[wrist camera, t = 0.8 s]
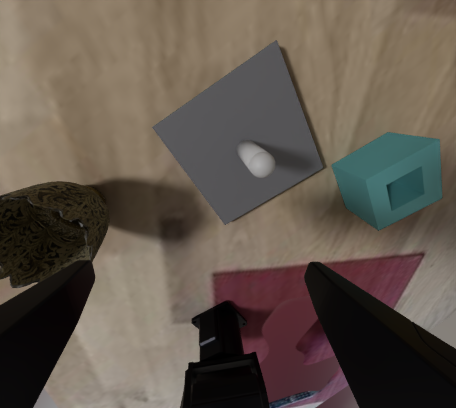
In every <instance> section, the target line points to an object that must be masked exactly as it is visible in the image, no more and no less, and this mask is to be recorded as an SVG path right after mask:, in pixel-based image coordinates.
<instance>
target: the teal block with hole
mask: <svg viewBox="0 0 456 408" xmlns="http://www.w3.org/2000/svg"><path fill="white" fill-rule="evenodd" d="M332 168H333V171H334V174H335V177H336V180H337V183H338V186H339V189H340V192H341V195H342V198H343V200H344V203H345V206H346V208H347V209H348V210H350V211H351V212H353V213H354V214H355V215H357V216H358V217H360V218H361V219H363V220H364V221H365V222H367V223H368V224H370V225H371V226H373V227H374V228H375V229H377V230H378V231H379V230H381V229H383V228H385V227H387V226H389V225H391V224H393V223H395V222H397V221H399V220H401V219H403V218H405V217H407V216H409V215H410V214H412V213H414V212H416V211H418V210H420V209H422V208H424V207H426V206H428V205H430V204H432V203H434V202H436V201H438V200H440V199H442V180H441V159H440V139H434V138H426V137H419V136H412V135H404V134H397V133H390V132H388V133H386V134H384V135H382V136H381V137H379V138H377V139H375V140H374V141H372V142H370V143H369V144H367V145H365V146H363V147H362V148H360V149H358V150H356V151H355V152H353V153H351V154H350V155H348V156H346V157H344V158H343V159H341V160H339V161H337V162H336V163H334V164H332Z"/></svg>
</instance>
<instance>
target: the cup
mask: <svg viewBox="0 0 456 408" xmlns="http://www.w3.org/2000/svg"><path fill="white" fill-rule="evenodd" d="M108 226H109V212H108V209H107V207H106V201H105V198H104V196H103V195H102V194H101V193H100V192H99V191H98V190H97V189H95V188H93V187H90V186H85V185H79V184H76V183H71V182H61V181H57V182H48V183H43V184H38V185H34V186H30V187H27V188H23V189H20V190H17V191H14V192H10V193H7V194H4V195H1V196H0V266H1V268H0V279H4V278H6V277H8V276H10V283H11V284H10V285H11V287H12V288H20V287H24V286H27V285H30V284H32V283H35V282H38V283H39V282H41V281H43V280H44V279H46V278H48V277H49V276H51V275H53V274H55V273H56V272H58V271H60V270H62V269H63V268H65V267H67V266H68V265H70V264H72V263H74V262H75V261H77V260H91V261H92V262H93V260H94V258H95V256H96V254H97V252H98V250H99V248H100V246H101V244H102V242H103V240H104V238H105V235H106V233H107V230H108Z"/></svg>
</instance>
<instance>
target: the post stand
mask: <svg viewBox="0 0 456 408" xmlns="http://www.w3.org/2000/svg"><path fill="white" fill-rule="evenodd" d="M152 128H153V129H154V130H155V132H156V133H157V134H158V136H159V137H160V138H161V140H162V141H163V143H164V144H165V145H166V147H167V148H168V149H169V151H170V152H171V153H172V155H173V156H174V157H175V159H176V160H177V161H178V163H179V164H180V165H181V167H182V168H183V169H184V171H185V172H186V173H187V175H188V176H189V177H190V179H191V180H192V181H193V183H194V184H195V185H196V187H197V188H198V189H199V191H200V192H201V193H202V195H203V196H204V197H205V199H206V200H207V201H208V203H209V204H210V205H211V207H212V208H213V210H214V211H215V212H216V214H217V215H218V216H219V218H220V219H221V220H222V222H223V223H224V224H225V225H226V224H228V223H229V222H231V221H233V220H234V219H236V218H238V217H240V216H241V215H243V214H245V213H246V212H248V211H250V210H252V209H253V208H255V207H257V206H259V205H260V204H262V203H264V202H265V201H267V200H269V199H271V198H272V197H274V196H276V195H277V194H279V193H281V192H283V191H284V190H286V189H288V188H290V187H291V186H293V185H295V184H296V183H298V182H300V181H302V180H303V179H305V178H307V177H308V176H310V175H312V174H314V173H315V172H317V171H319V170H321V169H322V168H323V165H322V163H321V160H320V157H319V155H318V152H317V149H316V146H315V144H314V141H313V138H312V135H311V133H310V130H309V127H308V124H307V122H306V119H305V116H304V113H303V111H302V108H301V105H300V102H299V100H298V97H297V94H296V92H295V89H294V86H293V83H292V81H291V78H290V75H289V72H288V70H287V67H286V64H285V61H284V59H283V56H282V53H281V50H280V48H279V45H278V42H277V40H276V41H274V42H273V43H271V44H270V45H268V46H267V47H266V48H264V49H263V50H261V51H260V52H258V53H257V54H256V55H254V56H253V57H251V58H250V59H249V60H247V61H246V62H244V63H243V64H241V65H240V66H239V67H237V68H236V69H234V70H233V71H231V72H230V73H229V74H227V75H226V76H224V77H223V78H221V79H220V80H219V81H217V82H216V83H214V84H213V85H212V86H210V87H209V88H207V89H206V90H204V91H203V92H202V93H200V94H199V95H197V96H196V97H194V98H193V99H192V100H190V101H189V102H187V103H186V104H184V105H183V106H182V107H180V108H179V109H177V110H176V111H175V112H173V113H172V114H170V115H169V116H167V117H166V118H165V119H163V120H162V121H160V122H159V123H157V124H156V125H155V126H153V127H152Z"/></svg>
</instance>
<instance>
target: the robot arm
mask: <svg viewBox="0 0 456 408" xmlns="http://www.w3.org/2000/svg"><path fill="white" fill-rule="evenodd" d="M304 279H305V283H306V286H307V288H308V291H309V294H310V297H311V300H312V303H313V306H314V309H315V311H316V314H317V316H318V318H319V321H320V323H321V325H322V327H323V329H324V332H325V334H326V336H327V338H328V340H329V343H330V345H331V347H332V349H333V351H334V353H335V356H336V358H337V360H338V362H339V364H340V367H341V369H342V371H343V373H344V375H345V377H346V380H347V382H348V384H349V386H350V388H351V391H352V393H353V395H354V397H355V399H356V401H357V404H358V406H359V408H456V349H455V348H454V347H452V346H450V345H448V344H447V343H445V342H444V341H442V340H441V339H439V338H437V337H436V336H434V335H432V334H431V333H429V332H428V331H426V330H425V329H423V328H422V327H420V326H418V325H417V324H415V323H414V322H411V321H410V320H409V319H408V318H406V317H404V316H403V315H401V314H400V313H398V312H397V311H395V310H394V309H392V308H390V307H389V306H387V305H386V304H384V303H383V302H381V301H380V300H378V299H376V298H375V297H373V296H372V295H370V294H369V293H367V292H365V291H364V290H362V289H361V288H359V287H358V286H356V285H355V284H353V283H351V282H350V281H348V280H347V279H345V278H344V277H342V276H341V275H339V274H337V273H336V272H334V271H333V270H331V269H330V268H328V267H327V266H325V265H323V264H322V263H320V262H310V263H309V264H308V267H307V270H306V272H305V275H304ZM94 281H95V273H94V268H93V264H92V261H91V260H77V261H75V262H74V263H72V264H70V265H68V266H67V267H65V268H63V269H62V270H60V271H58V272H56V273H55V274H53V275H51V276H49V277H48V278H46V279H44V280H43V281H41V282H39V283H37V284H36V285H34V286H32V287H31V288H29V289H27V290H25V291H24V292H22V293H20V294H19V295H17V296H15V297H13V298H12V299H10V300H8V301H7V302H5V303H3V304H1V305H0V408H33V407H34V405H35V403H36V401H37V399H38V397H39V395H40V393H41V391H42V390H43V388H44V386H45V384H46V382H47V380H48V378H49V377H50V375H51V373H52V371H53V369H54V367H55V365H56V363H57V361H58V359H59V358H60V356H61V354H62V352H63V350H64V348H65V346H66V344H67V342H68V341H69V339H70V337H71V335H72V333H73V331H74V329H75V327H76V325H77V323H78V321H79V319H80V316H81V314H82V311H83V309H84V306H85V304H86V301H87V299H88V297H89V294H90V292H91V289H92V287H93V284H94ZM192 324H193V325H194V326H196V327H197V328H198V329H199V346H200V362H195V363H193V362H190V363H189V366H188V370H186V371H185V385H184V392H183V397H182V401H181V406H180V408H269V402H268V397H267V392H266V387H265V383H264V380H263V376H262V373H261V369H260V365H259V362H258V358H257V355H256V352H252V353H250V354H244V350H243V344H242V339H241V333H240V328H242V327H244V326H246V325H247V321H246V320H245V319H244V318H243V316H242V315H241V314H240V313H239V312H238V311H237V310H236V309H235V308H234V307H233V306H232V305H231V304H230V303H229V302H227V301H226V302H223V303H221V304H219V305H217V306H215V307H213V308H211V309H209V310H208V311H206V312H204V313H202V314H200V315H198V316H196V317H194V318H192Z"/></svg>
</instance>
